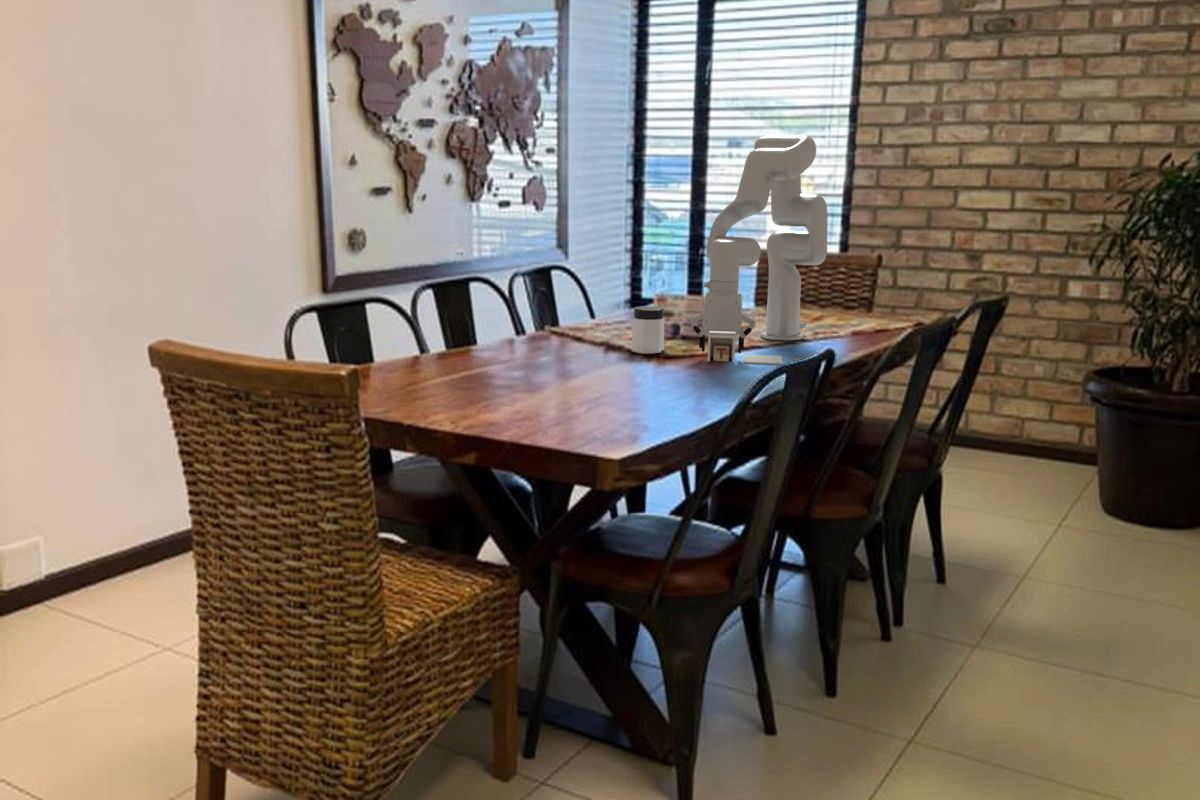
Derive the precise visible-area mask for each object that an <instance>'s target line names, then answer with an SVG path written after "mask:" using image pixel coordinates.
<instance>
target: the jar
mask: <svg viewBox="0 0 1200 800" xmlns="http://www.w3.org/2000/svg"><path fill="white" fill-rule="evenodd" d="M664 310H665V309H664V308H663V307H660V306H653V305H648V306H647V305H645V306H643V305H642V306H636V307H634V308H633V318H632V327H631V328H632V337H631V338H632V340H631V341H632V342H631V347H632V348H631V351H632V352H633V353H636V354H637V353H638V354H642V355H645V354H646V355H648V354H649V355H651V354H652V355H653V354H654V355H655V353H659V354H660V353H662V352H663V351H662V350H665V325H666V324H665V323H666V322H665V318H666V317H664V315H665V311H664ZM661 351H662V352H661Z"/></svg>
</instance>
